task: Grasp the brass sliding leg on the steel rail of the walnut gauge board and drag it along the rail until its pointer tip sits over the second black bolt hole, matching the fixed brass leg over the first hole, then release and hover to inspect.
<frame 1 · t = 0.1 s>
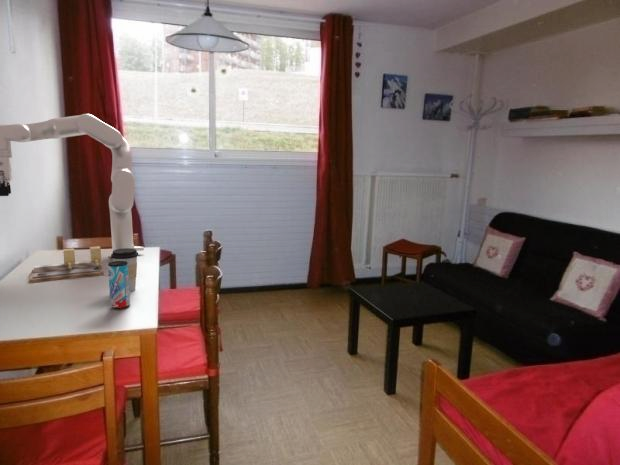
hand: (5, 194, 187), 31 cm above the table, fingers open, 9 cm apart
coffee cup: (126, 290, 163), on the table
fixed leg: (96, 268, 191), resting on gauge board
gauge board: (67, 273, 182), on the table
beverage can: (120, 307, 145), on the table
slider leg: (69, 259, 182), point 6 cm above the table, slide at 0.0 cm
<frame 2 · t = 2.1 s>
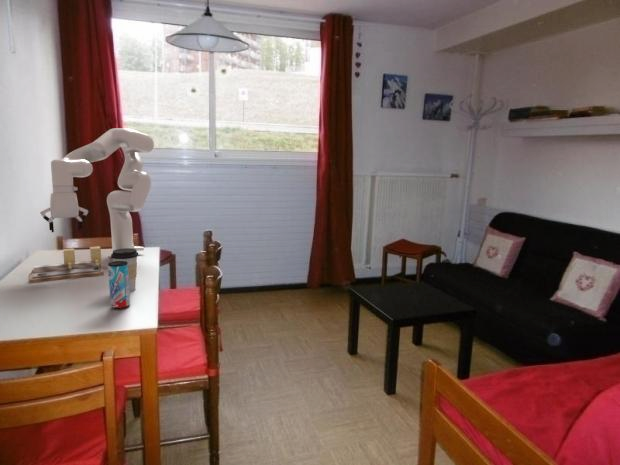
hand: (66, 231, 182), 17 cm above the table, fingers open, 9 cm apart
nothing on the table moved.
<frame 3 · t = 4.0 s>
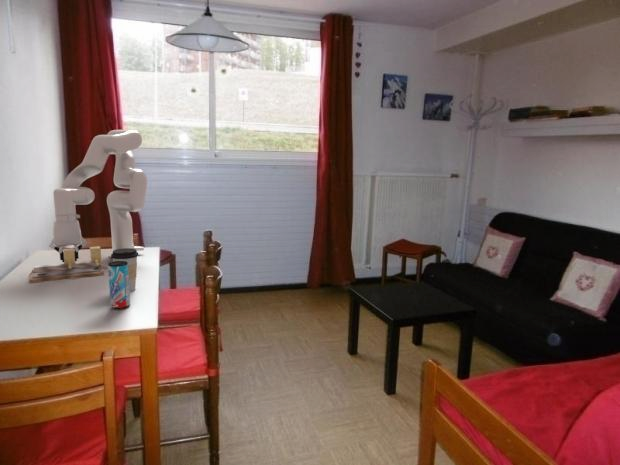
hand: (69, 260, 185), 5 cm above the table, fingers closed on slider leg, 4 cm apart
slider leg: (69, 259, 182), point 6 cm above the table, slide at 0.0 cm, touching gripper
everything else where it was.
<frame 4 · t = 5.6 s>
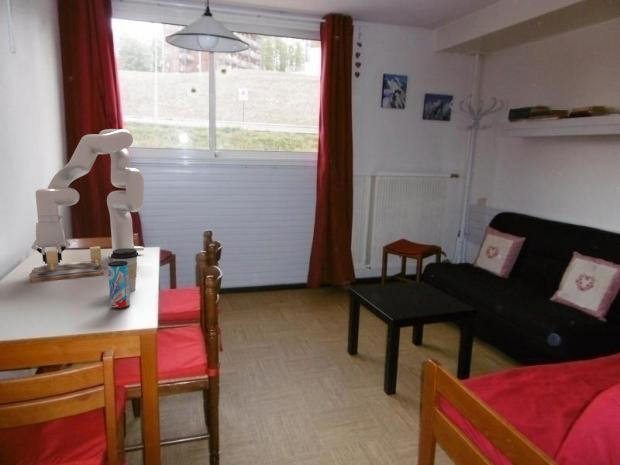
hand: (52, 262, 182), 5 cm above the table, fingers closed on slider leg, 4 cm apart
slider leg: (52, 260, 179), point 6 cm above the table, slide at 6.2 cm, touching gripper
everything else where it was.
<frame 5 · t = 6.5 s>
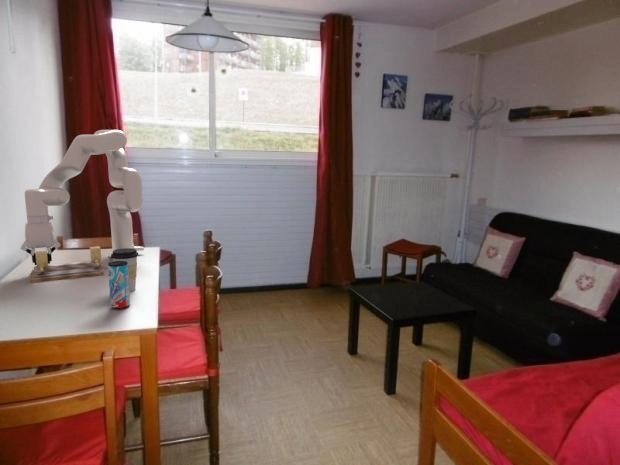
hand: (42, 263, 180), 4 cm above the table, fingers closed on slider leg, 4 cm apart
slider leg: (41, 261, 177), point 6 cm above the table, slide at 9.8 cm, touching gripper
everything else where it was.
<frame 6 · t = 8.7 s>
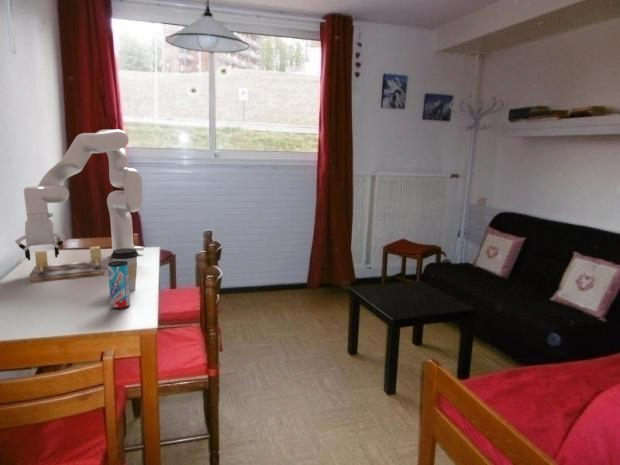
hand: (42, 258, 180), 7 cm above the table, fingers open, 9 cm apart
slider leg: (41, 261, 177), point 6 cm above the table, slide at 10.0 cm
everything else where it was.
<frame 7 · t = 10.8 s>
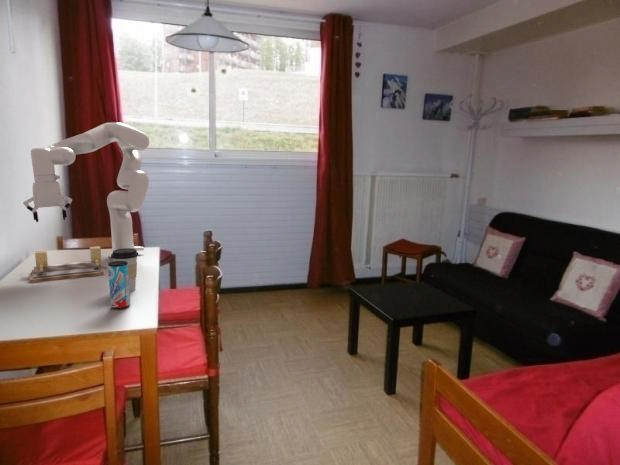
hand: (50, 220, 181), 22 cm above the table, fingers open, 9 cm apart
nothing on the table moved.
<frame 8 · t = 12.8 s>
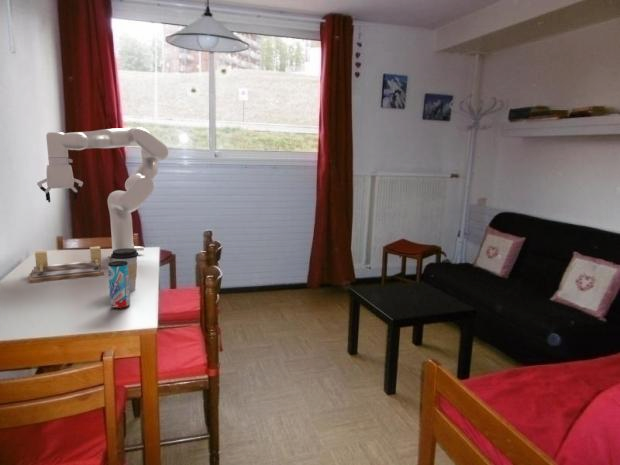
hand: (62, 201, 190), 28 cm above the table, fingers open, 9 cm apart
nothing on the table moved.
at the end: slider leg slide at 10.0 cm; the gripper is holding nothing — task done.
